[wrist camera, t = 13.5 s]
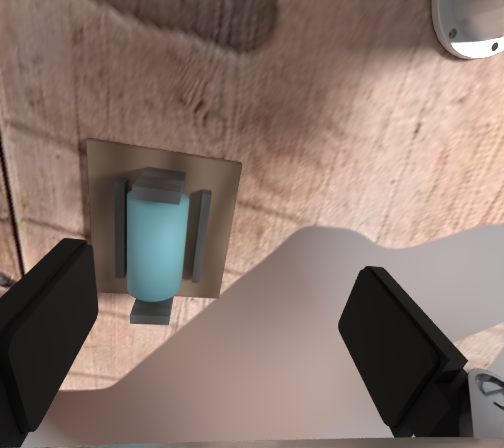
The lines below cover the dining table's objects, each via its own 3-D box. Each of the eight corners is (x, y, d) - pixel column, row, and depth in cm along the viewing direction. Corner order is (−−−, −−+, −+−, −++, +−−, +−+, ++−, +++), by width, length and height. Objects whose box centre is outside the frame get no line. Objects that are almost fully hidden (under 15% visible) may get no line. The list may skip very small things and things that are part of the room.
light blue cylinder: (137, 184, 30) (117, 202, 25) (192, 192, 31) (185, 211, 26) (136, 267, 35) (119, 298, 29) (184, 272, 35) (176, 303, 30)
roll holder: (241, 162, 32) (250, 182, 25) (218, 293, 39) (220, 338, 32) (90, 138, 29) (50, 152, 21) (97, 285, 36) (68, 334, 29)
